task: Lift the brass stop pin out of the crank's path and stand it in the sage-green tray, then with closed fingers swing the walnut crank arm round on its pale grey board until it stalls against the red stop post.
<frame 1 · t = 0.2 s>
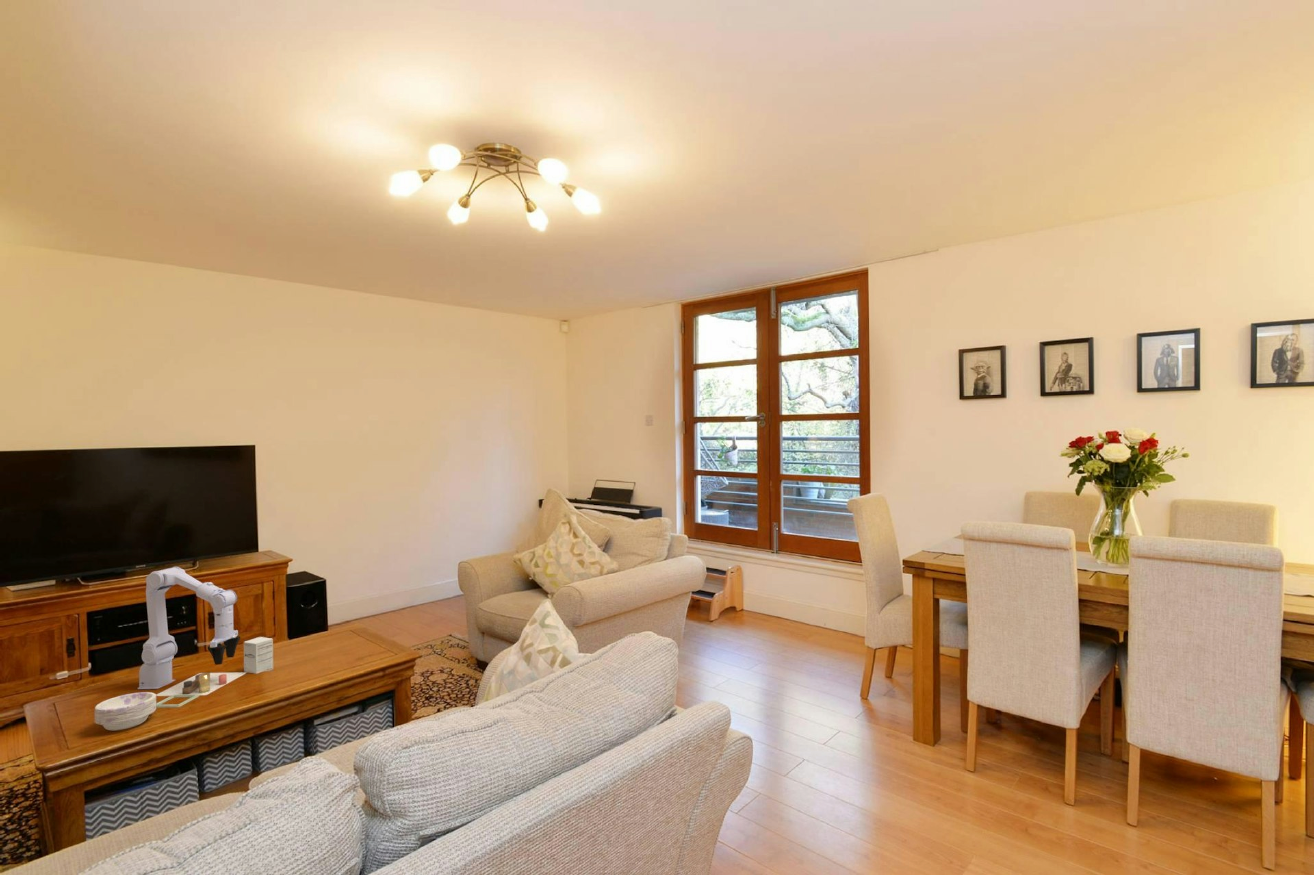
hand: (224, 660, 231), 10 cm above the table, tool pointing down, fingers open, 7 cm apart
stop pin: (204, 691, 225), point 1 cm above the table, touching board
tray: (176, 704, 217), on the table
crank: (196, 682, 229), point 3 cm above the table, hinge at -80.0°
supplement box: (258, 672, 247), on the table
board: (202, 685, 233), on the table
stop post: (222, 686, 232), resting on board
paper bowls: (126, 725, 201), on the table
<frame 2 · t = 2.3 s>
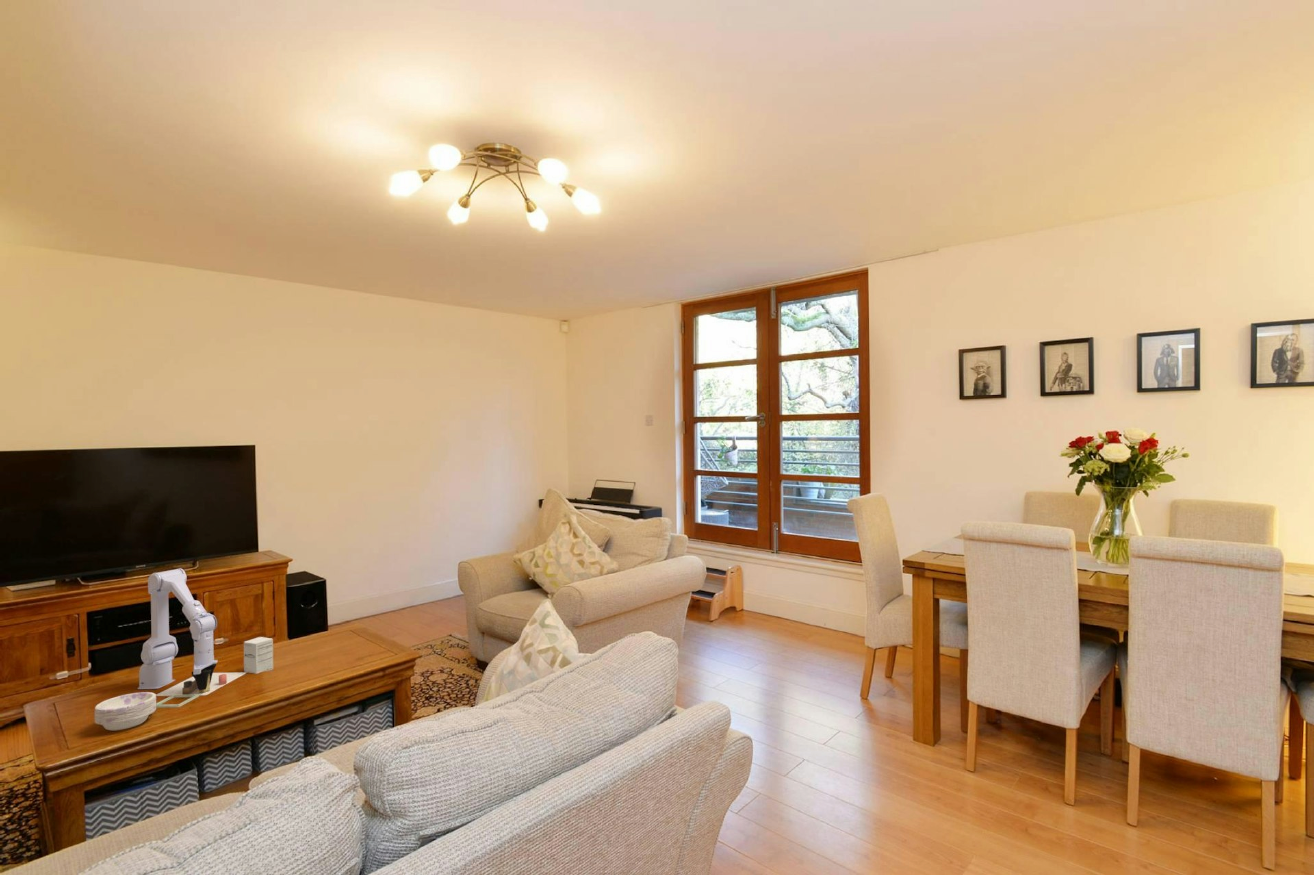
hand: (204, 687, 225), 2 cm above the table, tool pointing down, fingers closed on stop pin, 3 cm apart
stop pin: (204, 691, 225), point 1 cm above the table, touching board, gripper
everything else where it was.
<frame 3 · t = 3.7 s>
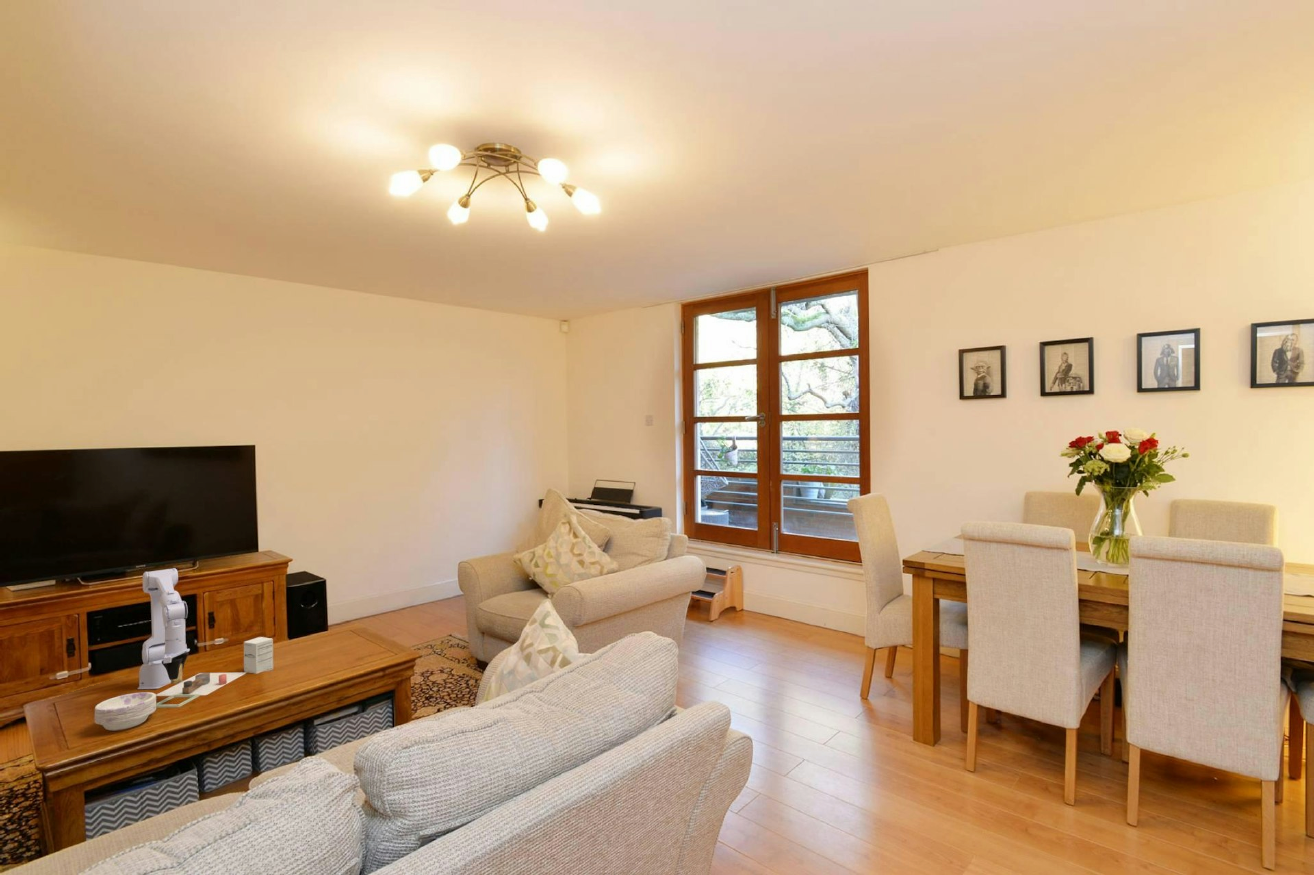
hand: (175, 677, 217), 9 cm above the table, tool pointing down, fingers closed on stop pin, 3 cm apart
stop pin: (176, 681, 217), point 8 cm above the table, touching gripper
everything else where it was.
when the fingers open (4 cm above the table, at t = 5.0 s): stop pin drops 2 cm, resting on tray.
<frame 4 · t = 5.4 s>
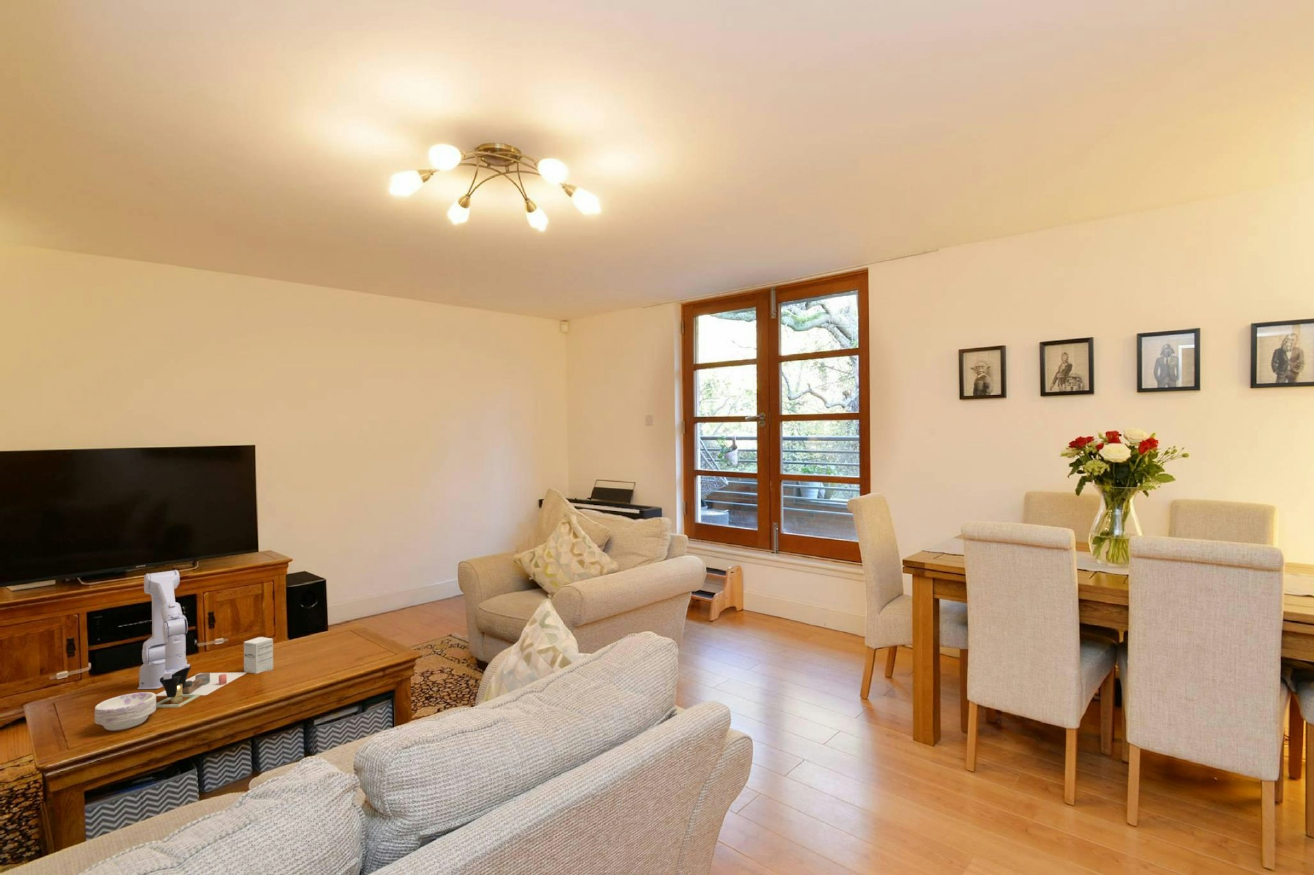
hand: (176, 692, 217), 4 cm above the table, tool pointing down, fingers open, 7 cm apart
stop pin: (176, 702, 217), point 1 cm above the table, touching tray
everything else where it was.
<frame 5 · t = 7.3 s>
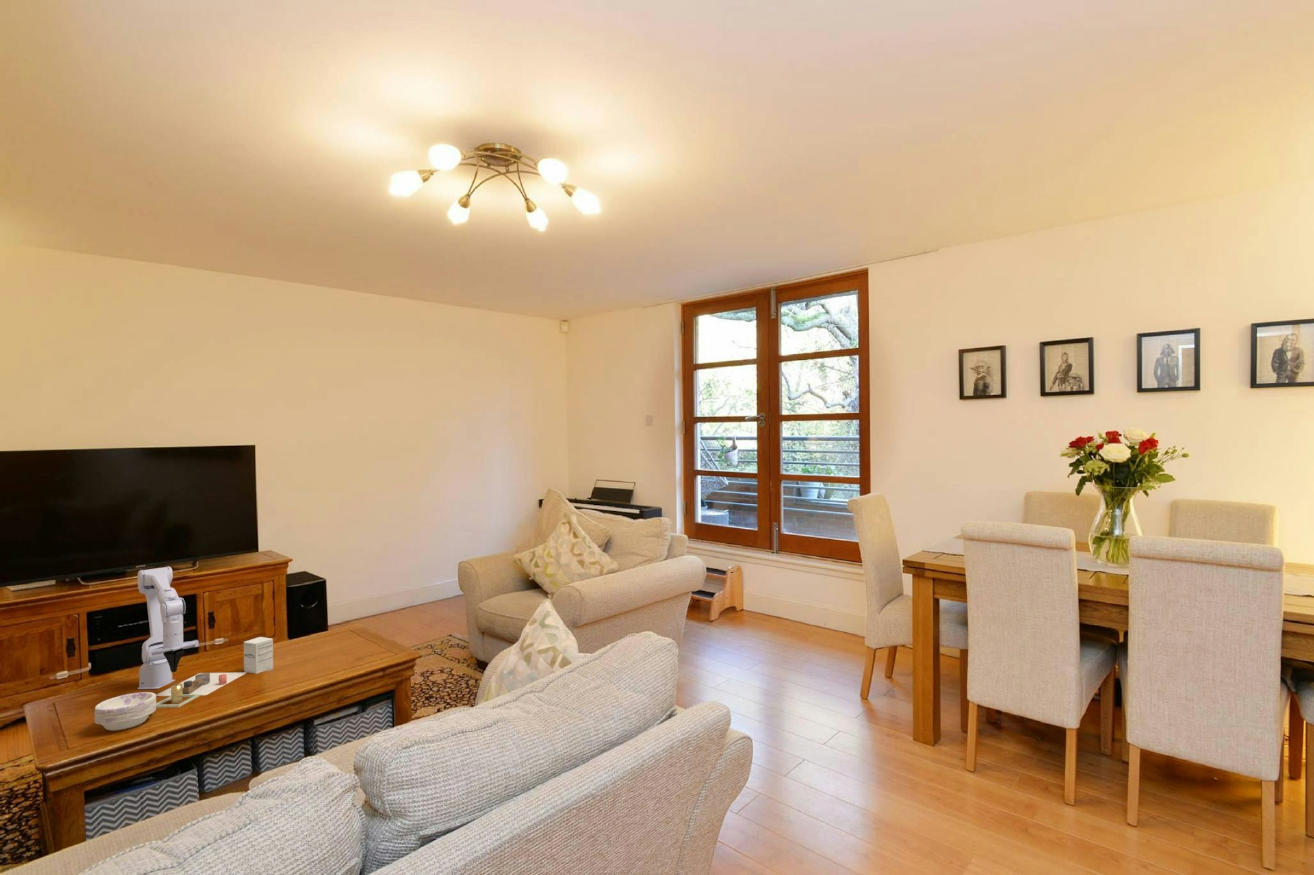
hand: (173, 671, 223), 9 cm above the table, tool pointing down, fingers closed
nothing on the table moved.
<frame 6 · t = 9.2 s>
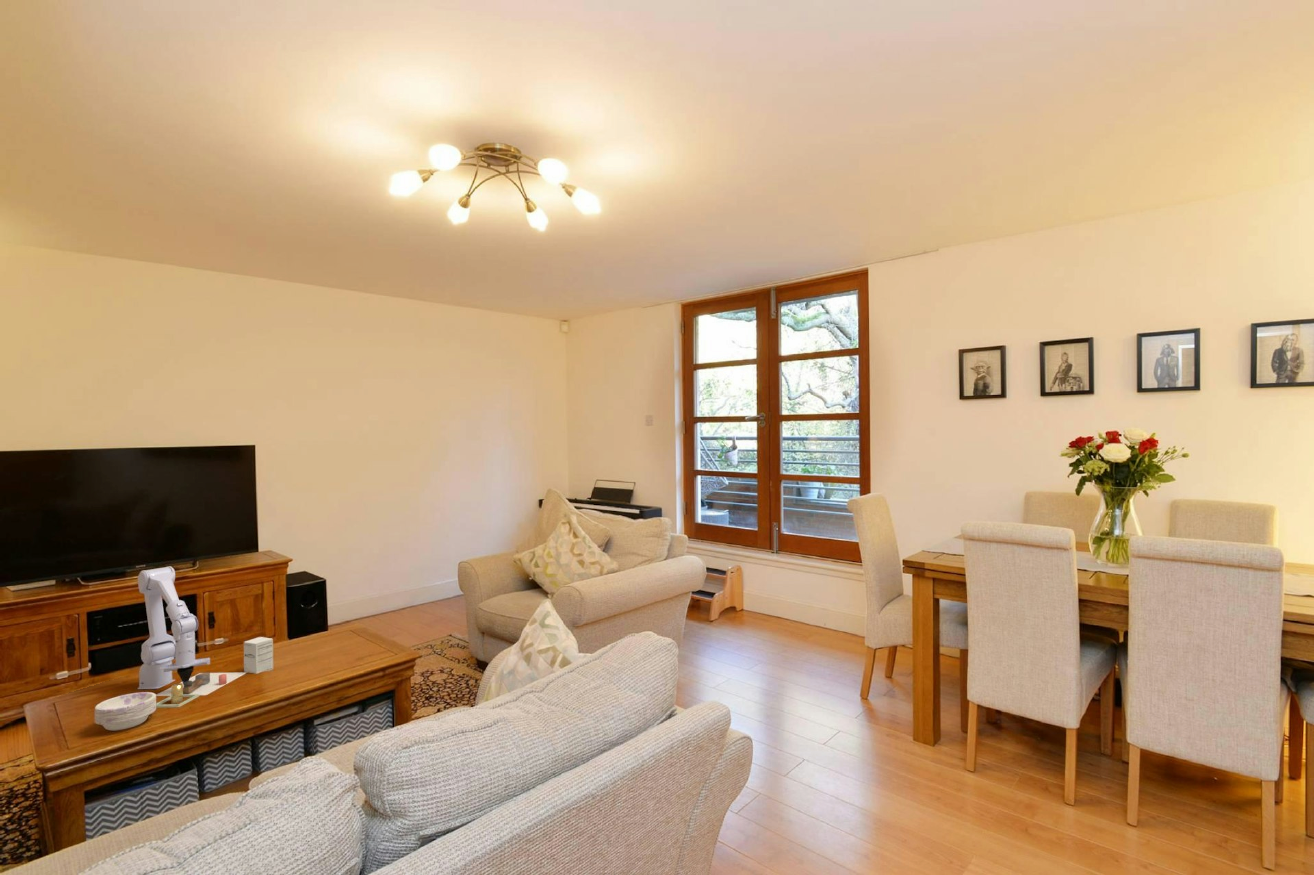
hand: (185, 688, 226), 2 cm above the table, tool pointing down, fingers closed, pressing on crank
crank: (196, 682, 229), point 3 cm above the table, hinge at -80.0°, touching gripper
everything else where it was.
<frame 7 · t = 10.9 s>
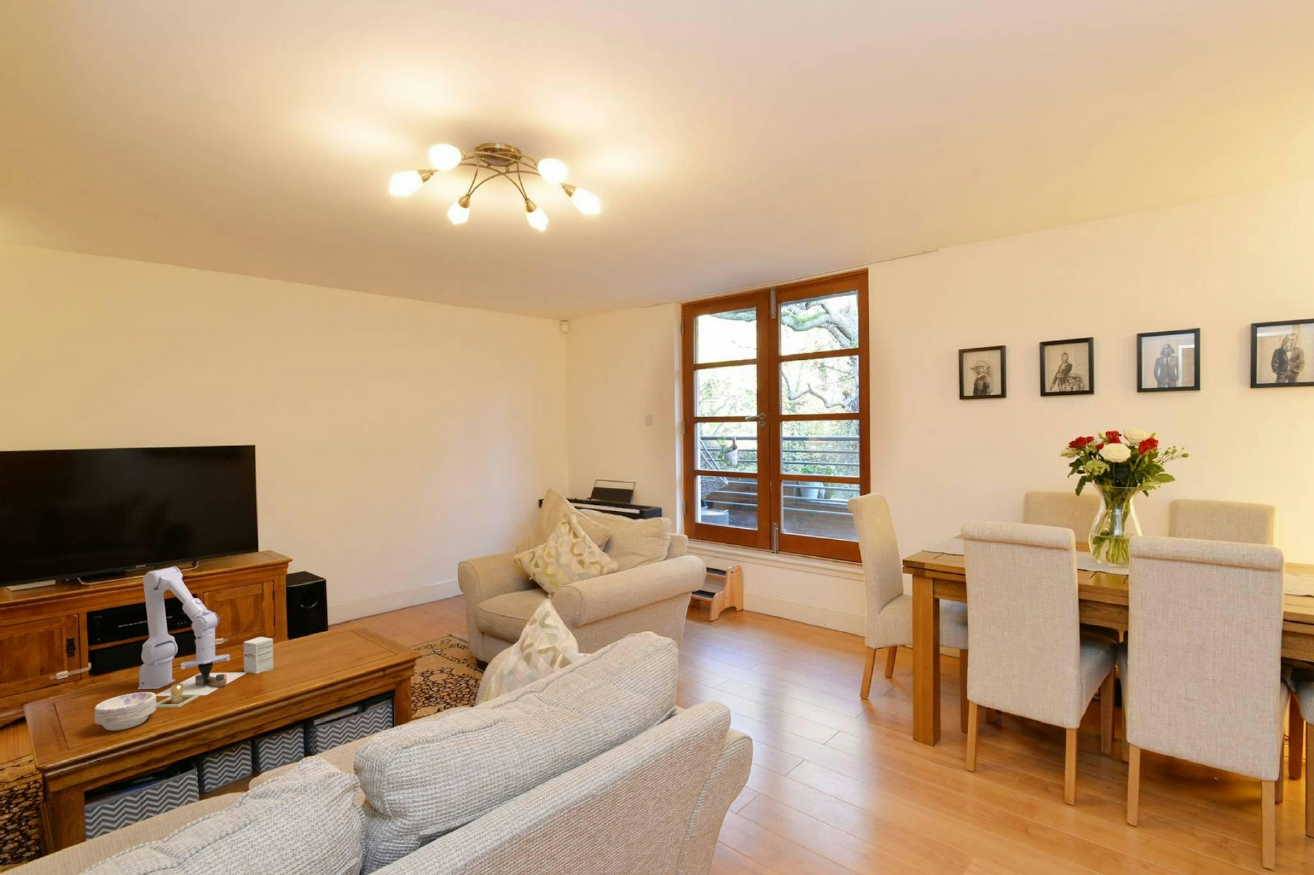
hand: (205, 684, 230), 2 cm above the table, tool pointing down, fingers closed, pressing on crank
crank: (210, 678, 232), point 3 cm above the table, hinge at -20.1°, touching gripper, stop post
everything else where it was.
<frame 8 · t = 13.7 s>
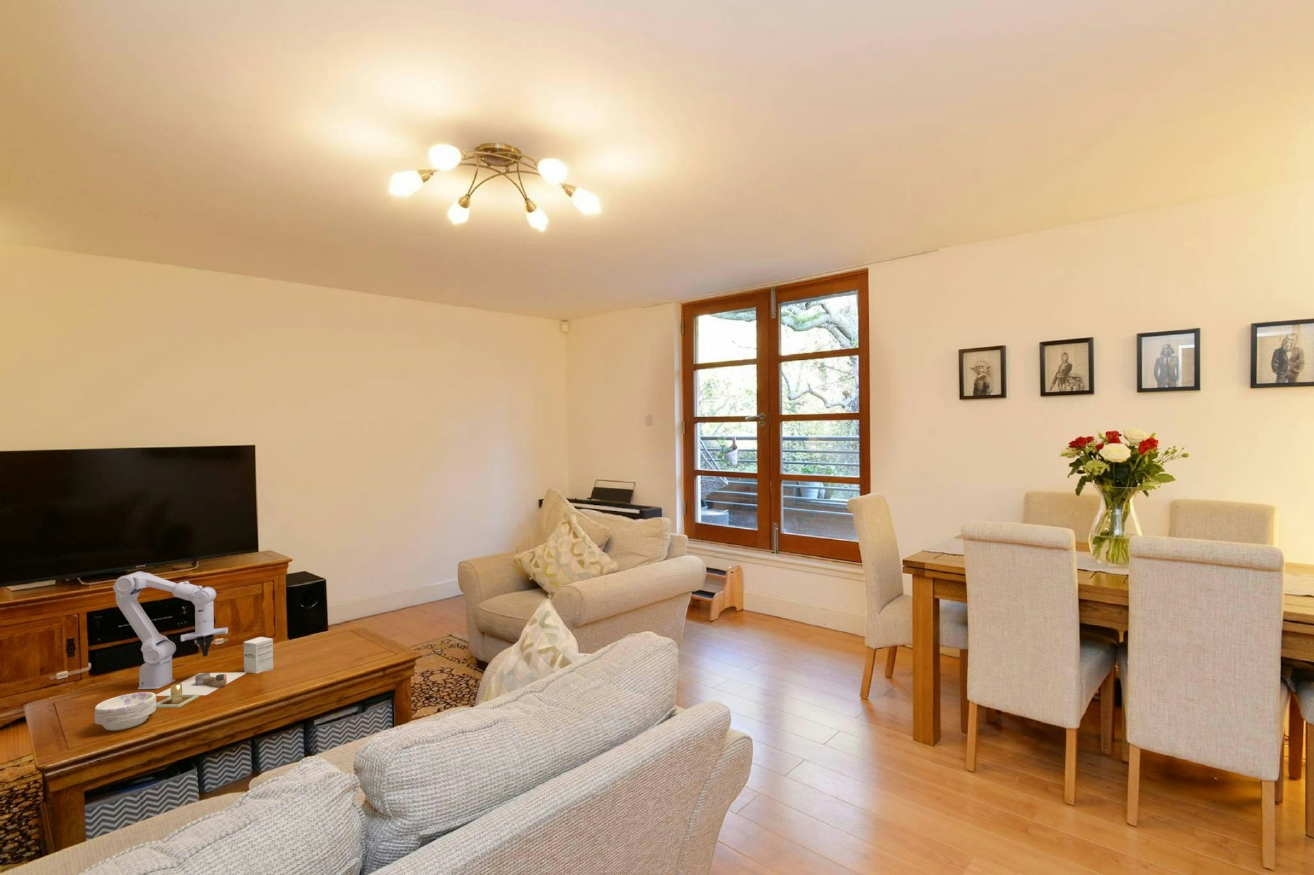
hand: (205, 655, 237), 10 cm above the table, tool pointing down, fingers closed
crank: (210, 679, 232), point 3 cm above the table, hinge at -20.1°, touching stop post
everything else where it was.
at the end: crank at -20° (first picture: -80°); stop pin inside the target area on the tray (0.2 cm from its centre), point 0.6 cm above the tray's base; the gripper is holding nothing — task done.
